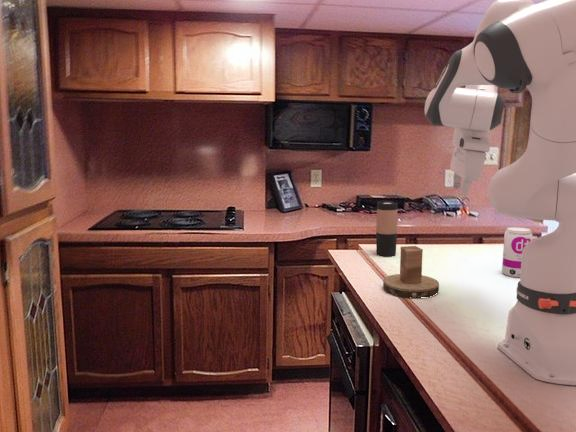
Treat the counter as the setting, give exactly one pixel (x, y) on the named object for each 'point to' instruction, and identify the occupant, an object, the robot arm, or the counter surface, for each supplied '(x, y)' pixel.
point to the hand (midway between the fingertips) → (459, 192)
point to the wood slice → (410, 287)
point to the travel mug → (386, 228)
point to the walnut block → (411, 264)
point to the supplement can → (514, 249)
